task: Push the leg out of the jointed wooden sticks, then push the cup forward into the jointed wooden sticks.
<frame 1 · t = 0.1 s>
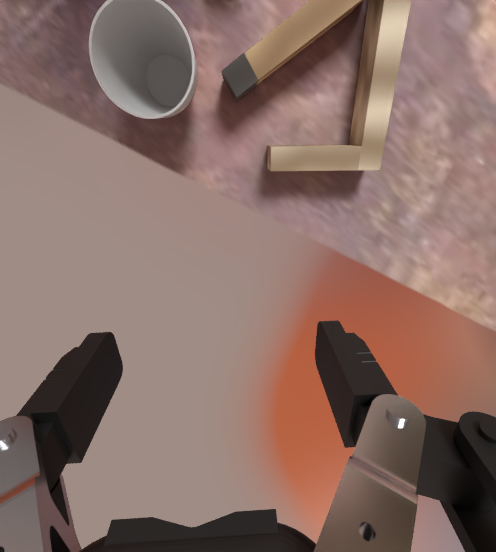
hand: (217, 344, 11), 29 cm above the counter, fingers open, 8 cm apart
jointed wooden sticks: (304, 86, 32), on the counter
leg: (298, 32, 28), point 3 cm above the counter, hinge at 33.0°
cup: (169, 81, 32), on the counter
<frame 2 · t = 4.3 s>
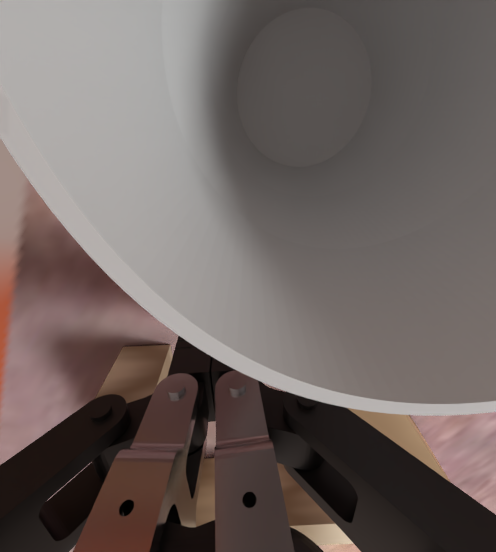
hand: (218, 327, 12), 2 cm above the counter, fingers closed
jointed wooden sticks: (281, 392, 17), on the counter
leg: (373, 410, 14), point 3 cm above the counter, hinge at 32.7°, touching gripper
cup: (301, 97, 11), on the counter
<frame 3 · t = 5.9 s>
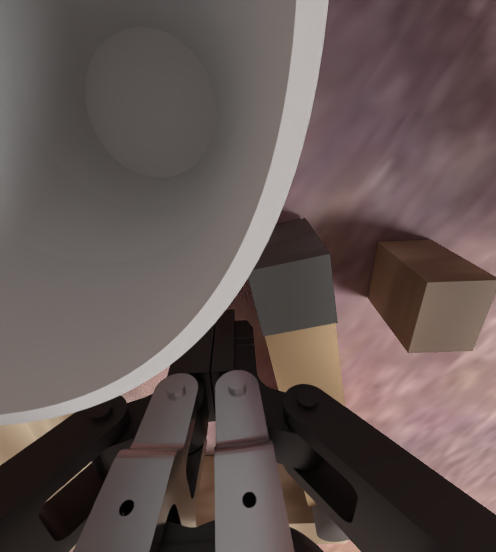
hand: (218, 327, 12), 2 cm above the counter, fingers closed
jointed wooden sticks: (189, 395, 17), on the counter
leg: (310, 399, 14), point 3 cm above the counter, hinge at 10.8°, touching gripper
cup: (153, 111, 11), on the counter
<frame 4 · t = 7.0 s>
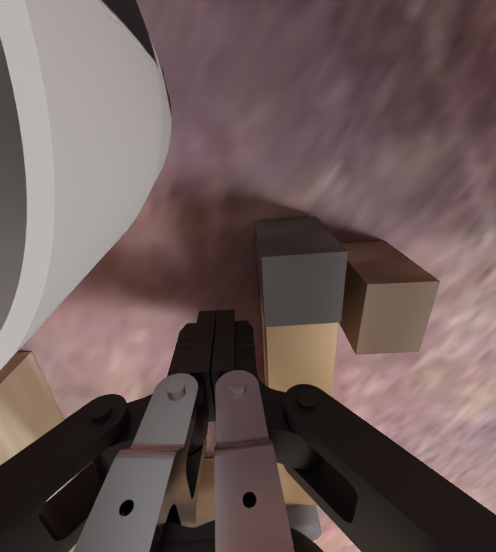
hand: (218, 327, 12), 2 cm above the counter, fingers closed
jointed wooden sticks: (155, 399, 17), on the counter
leg: (293, 398, 14), point 3 cm above the counter, hinge at 1.5°, touching gripper
cup: (99, 113, 11), on the counter
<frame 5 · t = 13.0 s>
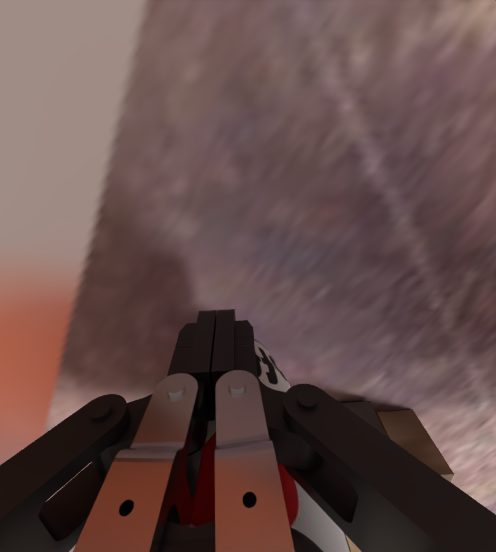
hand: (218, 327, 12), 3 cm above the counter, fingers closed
jointed wooden sticks: (237, 501, 23), on the counter
leg: (350, 516, 19), point 3 cm above the counter, hinge at 0.8°
cup: (230, 367, 17), on the counter, touching gripper
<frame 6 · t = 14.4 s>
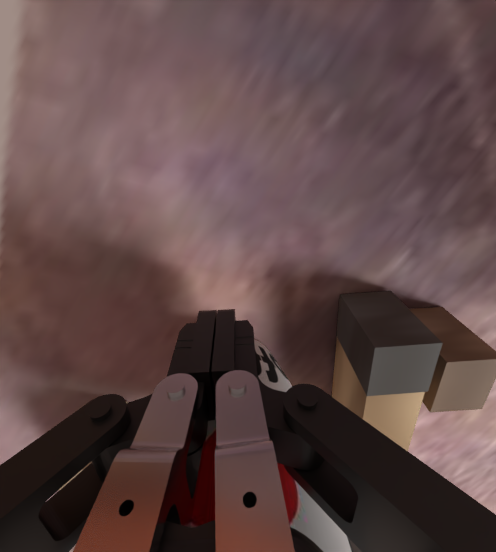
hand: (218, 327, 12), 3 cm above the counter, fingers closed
jointed wooden sticks: (229, 436, 19), on the counter
leg: (365, 440, 16), point 3 cm above the counter, hinge at 0.8°
cup: (231, 366, 17), on the counter, touching gripper
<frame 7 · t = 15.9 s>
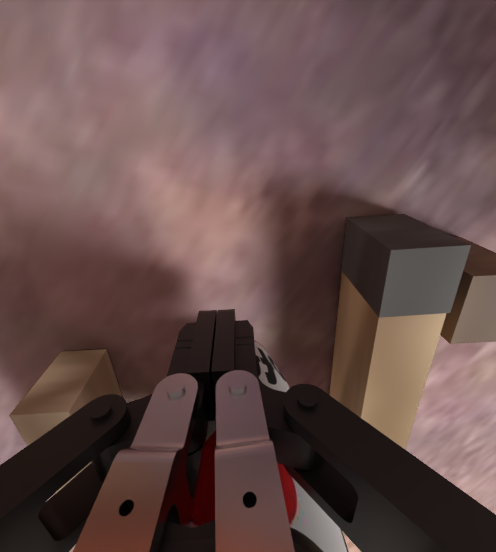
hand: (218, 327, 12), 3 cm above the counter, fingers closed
jointed wooden sticks: (221, 394, 18), on the counter
leg: (372, 389, 14), point 3 cm above the counter, hinge at 0.8°
cup: (228, 367, 17), on the counter, touching gripper
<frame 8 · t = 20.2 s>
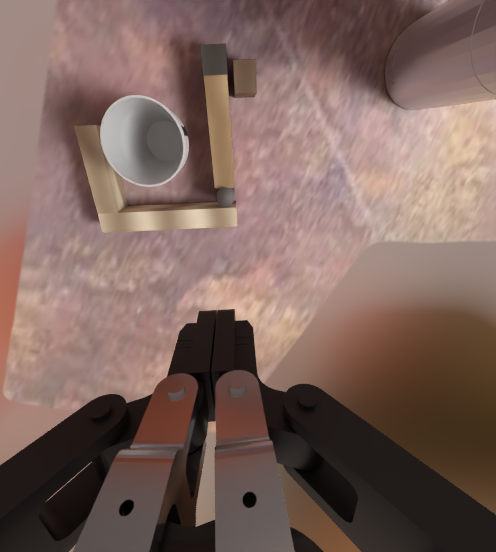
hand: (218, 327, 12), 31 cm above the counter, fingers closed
jointed wooden sticks: (163, 158, 38), on the counter
leg: (220, 133, 34), point 3 cm above the counter, hinge at 0.8°
cup: (166, 141, 37), on the counter
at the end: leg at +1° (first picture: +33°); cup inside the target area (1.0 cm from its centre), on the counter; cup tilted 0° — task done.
